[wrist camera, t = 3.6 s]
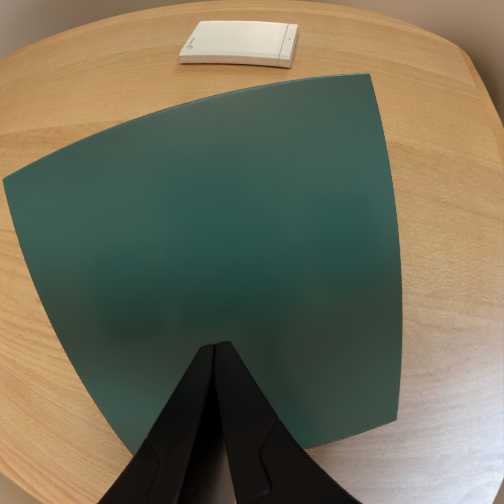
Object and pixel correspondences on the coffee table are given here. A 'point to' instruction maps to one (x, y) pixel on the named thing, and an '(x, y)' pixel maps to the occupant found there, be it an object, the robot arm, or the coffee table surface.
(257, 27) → the hard drive
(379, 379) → the lid
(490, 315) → the coffee table surface
